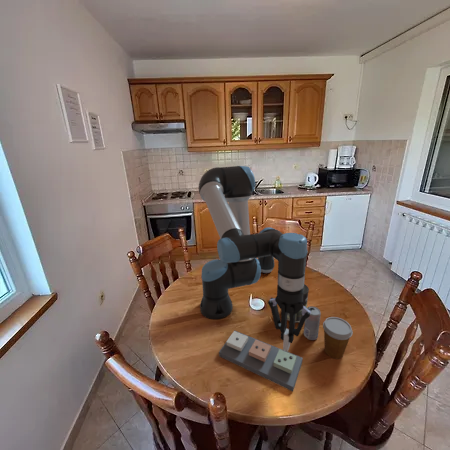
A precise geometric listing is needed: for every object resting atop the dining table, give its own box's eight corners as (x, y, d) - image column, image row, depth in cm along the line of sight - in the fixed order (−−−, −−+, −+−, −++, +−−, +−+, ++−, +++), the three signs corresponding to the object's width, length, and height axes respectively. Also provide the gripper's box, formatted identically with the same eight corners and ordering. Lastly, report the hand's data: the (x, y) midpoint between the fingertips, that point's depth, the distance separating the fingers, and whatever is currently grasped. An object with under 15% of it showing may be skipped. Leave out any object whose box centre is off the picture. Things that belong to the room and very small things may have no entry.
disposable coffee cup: (324, 337, 94) (328, 312, 90) (351, 349, 88) (356, 323, 84) (316, 353, 87) (319, 327, 83) (344, 367, 81) (349, 340, 77)
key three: (273, 369, 79) (273, 361, 78) (278, 356, 84) (279, 348, 83) (291, 377, 76) (291, 369, 75) (296, 363, 81) (296, 355, 80)
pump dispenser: (274, 276, 137) (275, 252, 132) (256, 274, 139) (256, 251, 134) (274, 267, 146) (275, 245, 141) (257, 266, 149) (258, 243, 144)
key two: (248, 358, 84) (248, 351, 83) (255, 346, 89) (255, 339, 87) (264, 365, 81) (265, 358, 80) (270, 353, 86) (271, 345, 85)
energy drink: (314, 330, 97) (317, 305, 94) (320, 340, 92) (323, 314, 88) (301, 330, 97) (304, 306, 93) (306, 340, 92) (309, 315, 88)
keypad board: (219, 356, 87) (218, 352, 86) (234, 334, 97) (234, 330, 96) (292, 391, 74) (293, 387, 73) (302, 362, 84) (302, 357, 83)
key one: (226, 348, 88) (226, 341, 87) (234, 337, 93) (234, 330, 92) (241, 355, 85) (241, 347, 84) (248, 343, 90) (248, 336, 89)
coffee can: (304, 308, 110) (307, 281, 106) (307, 324, 101) (310, 295, 96) (282, 305, 112) (283, 280, 108) (282, 321, 103) (284, 293, 98)
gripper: (264, 286, 70) (263, 348, 77) (310, 298, 64) (304, 365, 71) (273, 274, 76) (271, 333, 84) (316, 284, 70) (309, 347, 77)
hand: (286, 347), depth 77 cm, fingers closed
